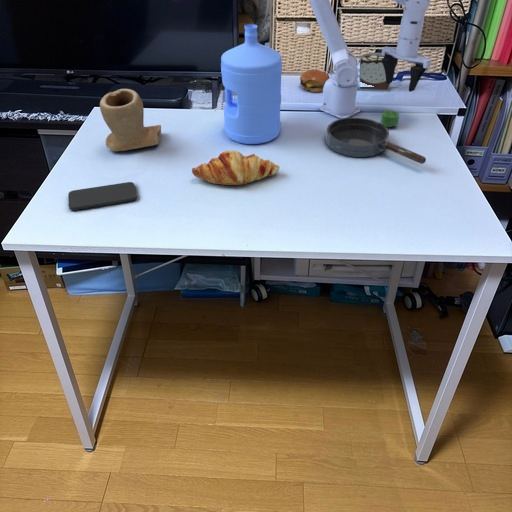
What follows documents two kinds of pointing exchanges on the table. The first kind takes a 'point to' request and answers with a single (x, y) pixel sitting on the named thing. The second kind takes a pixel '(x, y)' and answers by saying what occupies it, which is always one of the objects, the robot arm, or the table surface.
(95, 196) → the phone
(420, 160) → the pan handle
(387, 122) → the green short cylinder
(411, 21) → the robot arm
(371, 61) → the food container
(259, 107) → the water jug
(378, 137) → the pan
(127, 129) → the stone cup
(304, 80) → the burger
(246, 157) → the croissant
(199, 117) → the table surface
